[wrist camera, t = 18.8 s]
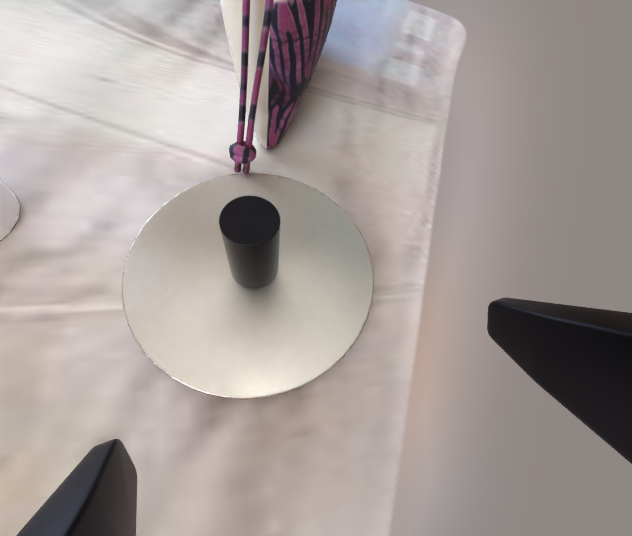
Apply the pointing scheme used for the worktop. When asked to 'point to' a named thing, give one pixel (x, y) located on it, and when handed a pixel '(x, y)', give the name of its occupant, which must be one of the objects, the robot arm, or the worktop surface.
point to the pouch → (272, 64)
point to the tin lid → (247, 286)
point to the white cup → (7, 209)
